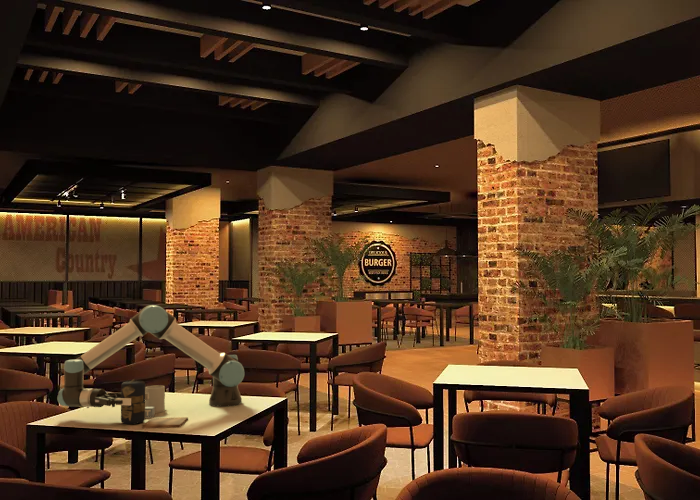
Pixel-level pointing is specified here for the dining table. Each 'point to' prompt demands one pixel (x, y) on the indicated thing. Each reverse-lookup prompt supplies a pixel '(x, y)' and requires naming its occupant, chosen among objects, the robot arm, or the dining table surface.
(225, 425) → the dining table surface
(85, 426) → the dining table surface
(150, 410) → the letter cube
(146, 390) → the mug
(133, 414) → the canister
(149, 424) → the walnut board
